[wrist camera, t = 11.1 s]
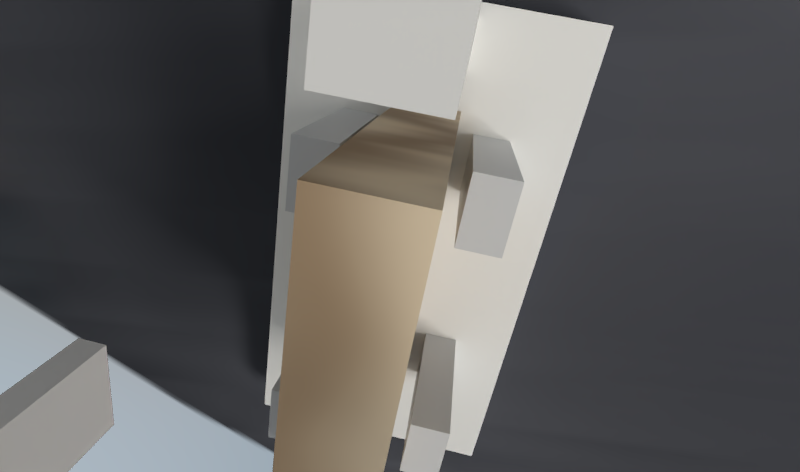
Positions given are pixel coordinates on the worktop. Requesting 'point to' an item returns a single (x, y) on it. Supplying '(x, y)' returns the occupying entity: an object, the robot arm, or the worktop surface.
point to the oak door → (358, 290)
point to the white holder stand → (468, 180)
